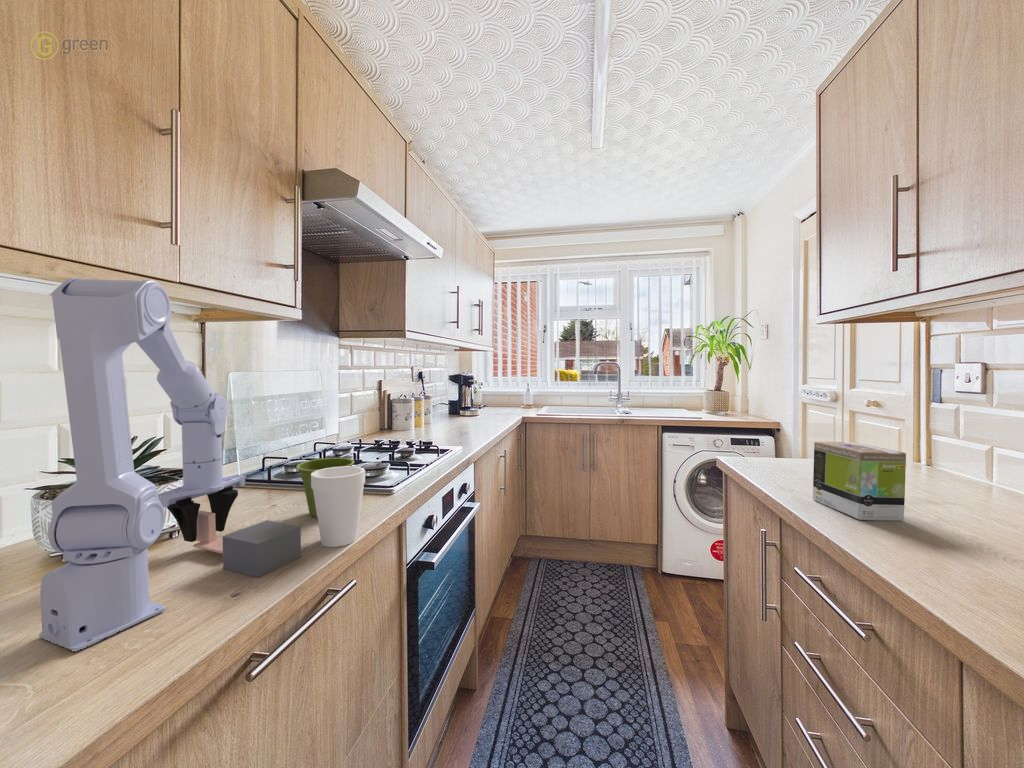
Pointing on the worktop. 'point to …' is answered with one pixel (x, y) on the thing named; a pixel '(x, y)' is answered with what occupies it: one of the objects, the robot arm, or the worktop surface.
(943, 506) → the worktop surface
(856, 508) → the tea box
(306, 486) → the plant pot
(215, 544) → the pink stepped block
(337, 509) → the foam cup
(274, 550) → the grey square box
